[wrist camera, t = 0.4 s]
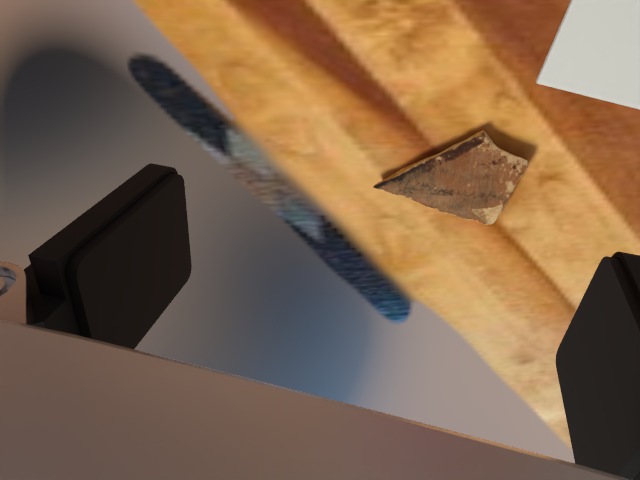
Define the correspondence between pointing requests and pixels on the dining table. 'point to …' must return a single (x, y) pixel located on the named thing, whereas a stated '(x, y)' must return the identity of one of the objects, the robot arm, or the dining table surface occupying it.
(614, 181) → the dining table surface
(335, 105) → the dining table surface
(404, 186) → the shard
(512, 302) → the dining table surface
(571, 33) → the pale gray mat
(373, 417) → the robot arm
